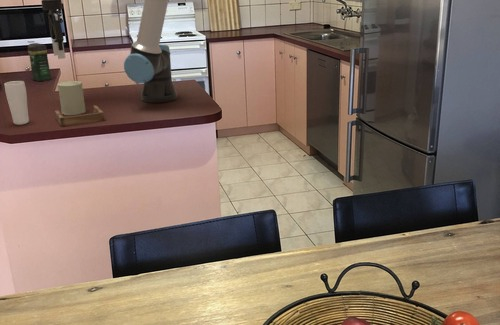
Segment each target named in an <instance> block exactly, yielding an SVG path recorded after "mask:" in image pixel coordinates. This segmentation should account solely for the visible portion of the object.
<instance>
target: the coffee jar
mask: <svg viewBox="0 0 500 325" xmlns="http://www.w3.org/2000/svg"><path fill="white" fill-rule="evenodd" d="M27 52H28V56H29V62H30V69H31V76H32V80H34V81H37V82H46V81H49V80H52V76H51V70H50V65H49V64H50V63H49V58H48V49H47V46H46V45H45V44H43V43H38V42H35V43H34V42H33V43H29V44H28V45H27Z"/></svg>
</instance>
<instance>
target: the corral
mask: <svg viewBox="0 0 500 325" xmlns="http://www.w3.org/2000/svg"><path fill="white" fill-rule="evenodd" d="M92 110H93V112H92V113H87V114H86V113H85V114H84V113H83V114H78V115H69V116H64V115H63V114H62V113H61V112H60V110H59V109H56V110H54V117H55V119H56V121H57V122H58V124H59V125H60V127H61V128H62V127H69V126H70V127H71V126H75V125H83V124H84V125H85V124H90V123H97V122H103V121H106V120H105V119H106V118H105V113H104V111H103V110H102V109H100V107H98V105H96V104H95V105H92Z"/></svg>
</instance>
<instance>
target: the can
mask: <svg viewBox="0 0 500 325" xmlns="http://www.w3.org/2000/svg"><path fill="white" fill-rule="evenodd" d="M57 89H58V95H59V102H60V108H61V109H60V110H61V112H60V114H61V115H63V114H64V115H63V116H77V115H83V114H84V113H85V114H86V112H87V110H86V105H85V98H84V89H83V82H82V81H79V80H68V81H62V82H61V81H60V82H59V83H57Z"/></svg>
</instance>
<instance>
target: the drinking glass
mask: <svg viewBox="0 0 500 325" xmlns="http://www.w3.org/2000/svg"><path fill="white" fill-rule="evenodd" d="M3 86H4V91H5V94H6V95H5V97H6V99H7V102H8V107H9V110H10V113H11V114H10V115H11V117H12V122H13V124H14V125H19V126H20V125H21V126H22V125H25V124H28V123H29V122H30V118H29V110H28V97H27V88H26V83H25V81H24V80H15V81H14V80H13V81H11V80H10V81H7V82H5V83H4V84H3Z"/></svg>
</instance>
